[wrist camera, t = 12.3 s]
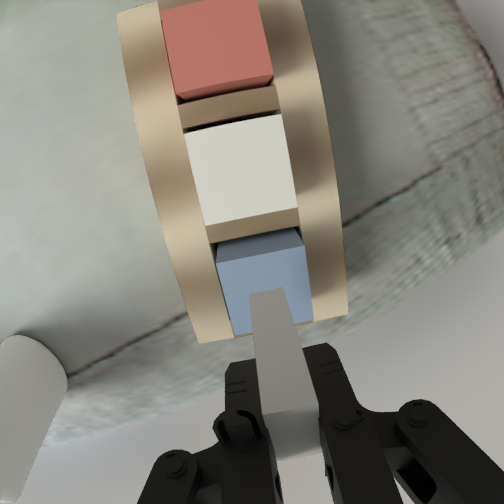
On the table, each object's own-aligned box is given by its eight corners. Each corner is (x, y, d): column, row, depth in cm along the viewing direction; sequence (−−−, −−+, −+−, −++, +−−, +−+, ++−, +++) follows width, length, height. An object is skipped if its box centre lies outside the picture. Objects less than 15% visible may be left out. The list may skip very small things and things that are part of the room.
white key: (195, 133, 18) (183, 133, 14) (269, 118, 18) (281, 114, 14) (211, 203, 20) (205, 226, 15) (282, 188, 20) (297, 207, 15)
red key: (176, 37, 16) (160, 11, 11) (249, 23, 16) (254, -8, 11) (189, 102, 18) (175, 93, 13) (263, 87, 18) (273, 73, 13)
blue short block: (219, 232, 21) (215, 263, 16) (288, 218, 21) (304, 245, 16) (234, 293, 22) (235, 335, 18) (297, 280, 22) (314, 319, 18)
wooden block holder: (135, 32, 17) (116, 14, 13) (283, 1, 16) (294, -23, 13) (203, 312, 24) (198, 343, 21) (332, 286, 24) (348, 313, 20)
